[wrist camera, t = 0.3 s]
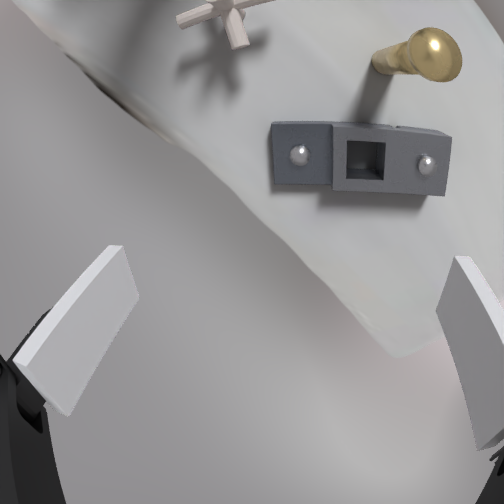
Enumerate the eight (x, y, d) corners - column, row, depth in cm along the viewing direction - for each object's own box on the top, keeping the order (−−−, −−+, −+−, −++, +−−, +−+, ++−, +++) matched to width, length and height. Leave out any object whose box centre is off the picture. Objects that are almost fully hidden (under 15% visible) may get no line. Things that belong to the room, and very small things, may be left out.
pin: (366, 44, 26) (409, 22, 13) (400, 48, 25) (460, 34, 13) (368, 77, 28) (412, 77, 15) (401, 80, 27) (462, 86, 15)
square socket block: (272, 121, 33) (268, 128, 29) (438, 130, 29) (455, 138, 25) (276, 178, 36) (272, 192, 32) (432, 184, 33) (447, 199, 29)
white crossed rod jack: (293, 40, 27) (289, 25, 19) (207, 64, 30) (173, 61, 22) (267, -31, 22) (254, -66, 14) (185, -5, 25) (146, -26, 17)
